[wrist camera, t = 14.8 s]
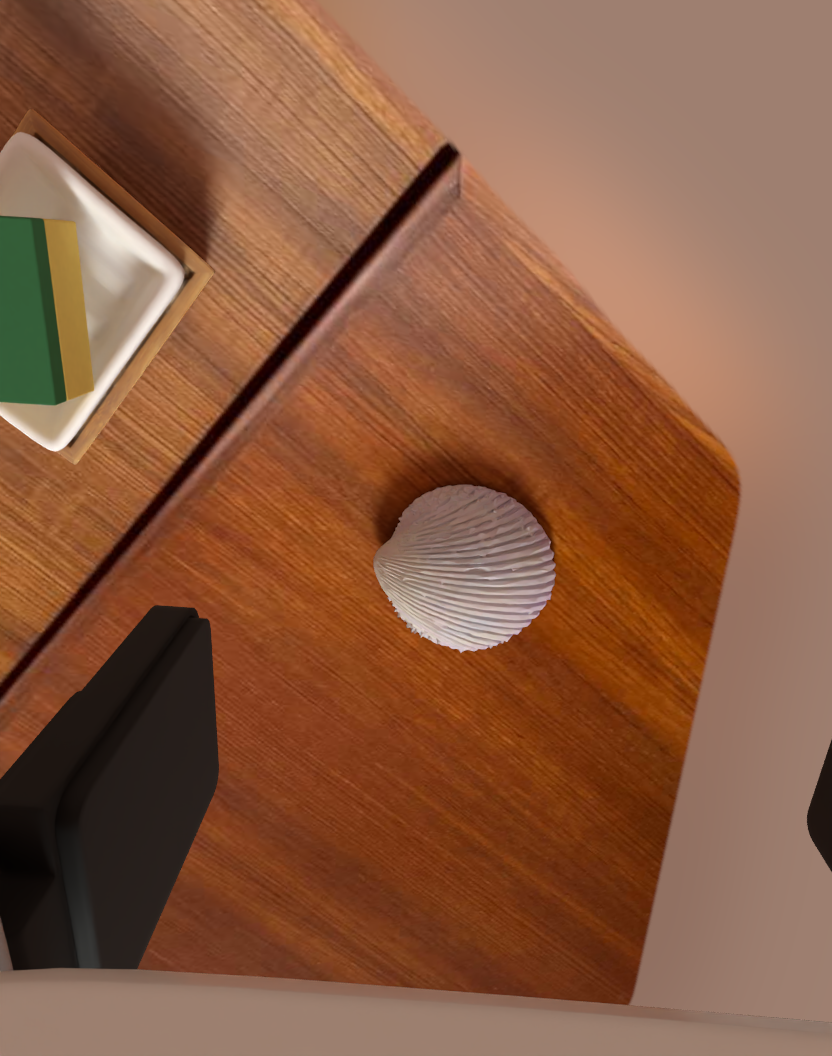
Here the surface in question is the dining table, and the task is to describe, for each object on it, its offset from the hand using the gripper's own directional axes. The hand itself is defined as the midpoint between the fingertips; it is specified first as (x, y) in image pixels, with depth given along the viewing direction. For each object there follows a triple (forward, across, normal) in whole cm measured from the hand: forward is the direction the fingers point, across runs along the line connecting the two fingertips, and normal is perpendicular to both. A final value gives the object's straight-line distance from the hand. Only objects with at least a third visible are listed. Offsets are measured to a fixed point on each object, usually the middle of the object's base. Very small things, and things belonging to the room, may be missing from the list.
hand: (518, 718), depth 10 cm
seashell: (+28, -1, +10) cm, 30 cm away
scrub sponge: (+23, +20, -3) cm, 31 cm away
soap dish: (+28, +20, -3) cm, 35 cm away
